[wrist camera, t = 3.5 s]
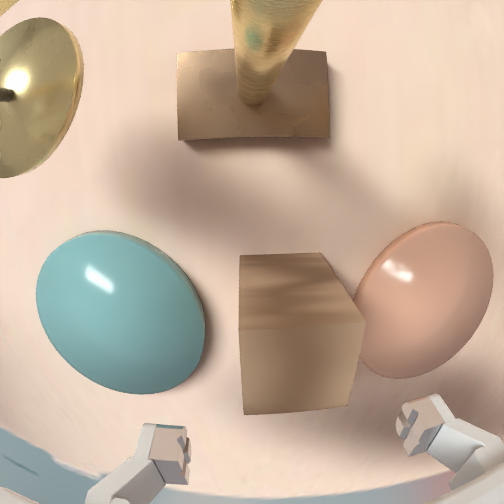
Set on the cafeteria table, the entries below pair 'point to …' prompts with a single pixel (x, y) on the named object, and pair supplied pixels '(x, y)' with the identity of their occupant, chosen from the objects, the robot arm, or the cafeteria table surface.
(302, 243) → the cafeteria table surface
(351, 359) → the block
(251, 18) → the balance
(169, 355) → the teal dome
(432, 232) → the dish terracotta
